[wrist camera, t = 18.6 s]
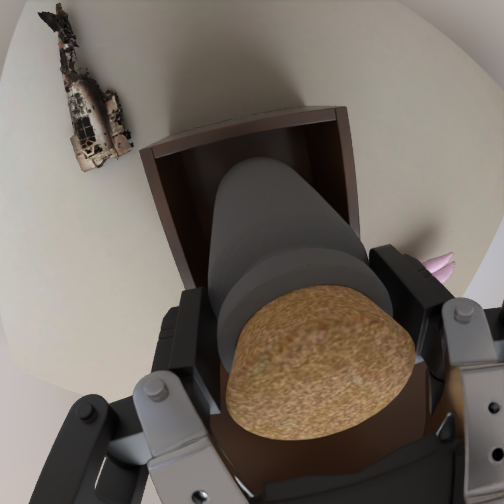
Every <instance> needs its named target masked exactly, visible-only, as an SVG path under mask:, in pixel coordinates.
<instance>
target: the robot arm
mask: <svg viewBox="0 0 504 504" xmlns="http://www.w3.org/2000/svg"><path fill="white" fill-rule="evenodd" d="M369 268H370V269H371V270H372V271H373V272H374V273H375V274H376V275H377V277H378V278H379V279H380V280H381V282H382V283H383V285H384V286H385V288H386V290H387V291H388V293H389V296H390V299H391V303H392V308H393V319H394V320H395V321H396V322H397V323H399V324H400V325H401V326H402V327H403V328H404V329H405V330H406V331H407V332H408V333H409V334H410V336H411V338H412V340H413V342H414V345H415V351H416V359H415V364H417V363H419V362H422V361H425V363H426V365H427V368H426V371H425V390H426V420H425V427H424V431H423V435H422V438H420V439H418V440H416V441H413V442H411V443H409V444H406V445H404V446H401V447H399V448H397V449H396V450H394V451H393V452H391V453H390V454H388V455H386V456H385V457H383V458H382V459H380V460H379V461H377V462H375V463H374V464H372V465H371V466H369V467H367V468H366V469H364V470H362V471H360V472H357V473H352V474H336V475H307V476H302V477H297V478H292V479H286V480H281V481H275V482H268V483H263V491H264V492H263V493H260V494H258V495H254V493H253V492H252V490H251V489H250V488H249V486H248V485H247V484H246V482H245V481H244V479H243V478H242V477H241V475H240V474H239V472H238V471H237V469H236V468H235V466H234V465H233V463H232V462H231V460H230V458H229V457H228V455H227V454H226V452H225V450H224V449H223V447H222V445H221V444H220V442H219V440H218V439H217V437H216V435H215V434H214V432H213V430H212V429H211V427H210V415H211V414H219V413H221V390H220V357H219V352H218V348H217V325H218V322H217V319H216V317H215V314H214V312H213V309H212V307H211V304H210V300H209V297H208V294H207V292H206V289H205V288H204V287H198V288H194V289H189V290H184V291H182V294H181V299H180V304H179V306H177V307H172V308H170V310H169V311H168V312H167V314H166V315H165V317H164V318H163V321H162V325H161V331H160V334H159V341H158V342H157V347H156V351H155V356H154V361H153V365H152V370H151V373H150V374H148V375H146V376H145V377H143V378H142V379H141V380H140V381H139V382H138V383H137V385H136V386H135V388H134V391H133V395H132V396H129V397H127V398H124V399H121V400H118V401H115V402H112V403H109V404H108V402H107V401H106V400H105V399H104V398H103V397H102V396H100V395H97V394H89V395H86V396H84V397H82V398H80V399H79V400H77V401H76V402H75V403H74V404H73V406H72V407H71V409H70V411H69V413H68V415H67V417H66V419H65V421H64V423H63V425H62V427H61V429H60V431H59V433H58V435H57V438H56V440H55V442H54V444H53V446H52V449H51V451H50V453H49V455H48V458H47V460H46V462H45V465H44V467H43V469H42V472H41V474H40V476H39V479H38V481H37V484H36V486H35V489H34V491H33V494H32V496H31V499H30V502H29V504H141V500H142V497H143V493H144V489H145V486H146V482H147V479H148V475H149V473H150V476H151V478H152V481H153V484H154V486H155V488H156V491H157V493H158V496H159V498H160V500H161V503H162V504H504V301H503V304H502V307H499V308H491V309H482V307H481V306H480V305H479V304H478V303H477V302H475V301H473V300H470V299H467V298H455V297H454V296H453V295H452V294H451V293H450V292H449V291H448V290H447V289H446V288H445V287H444V286H443V285H442V284H441V282H440V281H439V280H438V279H437V278H436V277H435V276H433V275H432V273H431V272H430V271H429V270H428V269H427V270H426V267H425V266H424V265H423V264H421V263H420V262H419V261H418V260H417V259H415V258H413V257H411V256H408V255H406V254H405V255H401V254H400V253H399V252H398V251H397V250H396V249H395V248H394V247H393V246H392V245H391V244H388V245H384V246H380V247H376V248H372V249H370V252H369ZM104 457H106V460H105V463H104V466H103V469H102V471H101V474H100V477H99V480H98V483H97V486H96V488H95V482H96V480H97V477H98V474H99V471H100V468H101V465H102V462H103V460H104Z"/></svg>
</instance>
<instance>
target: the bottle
mask: <svg viewBox="0 0 504 504" xmlns="http://www.w3.org/2000/svg"><path fill="white" fill-rule="evenodd" d="M208 295H209V300H210V304H211V307H212V309H213V312H214V314H215V316H216V318H217V320H218V325H217V348H218V352H219V357H220V360H221V362H222V364H223V366H224V368H225V369H226V370H227V372H228V373H229V374H230V375H229V379H228V384H227V390H226V406H227V409H228V412H229V414H230V415H231V417H232V418H233V419H234V421H235V422H236V423H237V424H239V425H240V426H241V427H243V428H244V429H245V430H247V431H249V432H252V433H254V434H256V435H259V436H263V437H267V438H271V439H279V440H305V439H313V438H318V437H323V436H328V435H331V434H334V433H337V432H340V431H343V430H346V429H348V428H351V427H353V426H355V425H357V424H359V423H361V422H363V421H365V420H366V419H368V418H370V417H371V416H373V415H375V414H376V413H378V412H379V411H380V410H382V409H383V408H384V407H385V406H387V405H388V404H389V403H390V402H391V401H392V400H393V399H394V398H395V397H396V396H397V395H398V394H399V393H400V391H401V390H402V389H403V387H404V386H405V384H406V383H407V381H408V379H409V377H410V376H411V373H412V371H413V368H414V364H415V359H416V351H415V345H414V342H413V340H412V338H411V336H410V334H409V333H408V332H407V331H406V330H405V329H404V328H403V327H402V326H401V325H400V324H399V323H397V322H396V321H395V320H394V319H393V308H392V303H391V299H390V296H389V293H388V291H387V290H386V288H385V286H384V285H383V283H382V282H381V280H380V279H379V278H378V277H377V275H376V274H375V273H374V272H373V271H372V270H371V269H370V268H369V261H368V257H367V254H366V250H365V248H364V246H363V244H362V242H361V241H360V239H359V238H358V236H357V235H356V233H355V232H354V230H353V229H352V228H351V227H350V226H349V225H348V224H347V223H346V222H345V221H344V220H343V218H342V217H341V216H340V215H339V214H338V213H337V212H336V211H335V210H334V209H333V208H332V207H331V206H330V205H329V204H328V203H327V202H326V201H325V200H324V199H323V198H322V197H321V196H320V194H319V193H318V192H317V191H316V190H315V189H313V188H312V187H311V186H310V185H309V184H308V183H307V182H306V181H305V180H304V179H303V178H302V177H301V176H300V175H299V174H298V173H297V172H295V171H294V170H293V169H292V168H291V167H289V166H288V165H287V164H285V163H283V162H281V161H279V160H277V159H274V158H269V157H254V158H249V159H246V160H243V161H241V162H239V163H237V164H236V165H234V166H233V167H232V168H231V169H230V170H229V171H228V172H227V173H226V174H225V175H224V177H223V178H222V180H221V182H220V184H219V187H218V189H217V194H216V200H215V207H214V215H213V225H212V235H211V246H210V257H209V270H208Z"/></svg>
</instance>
